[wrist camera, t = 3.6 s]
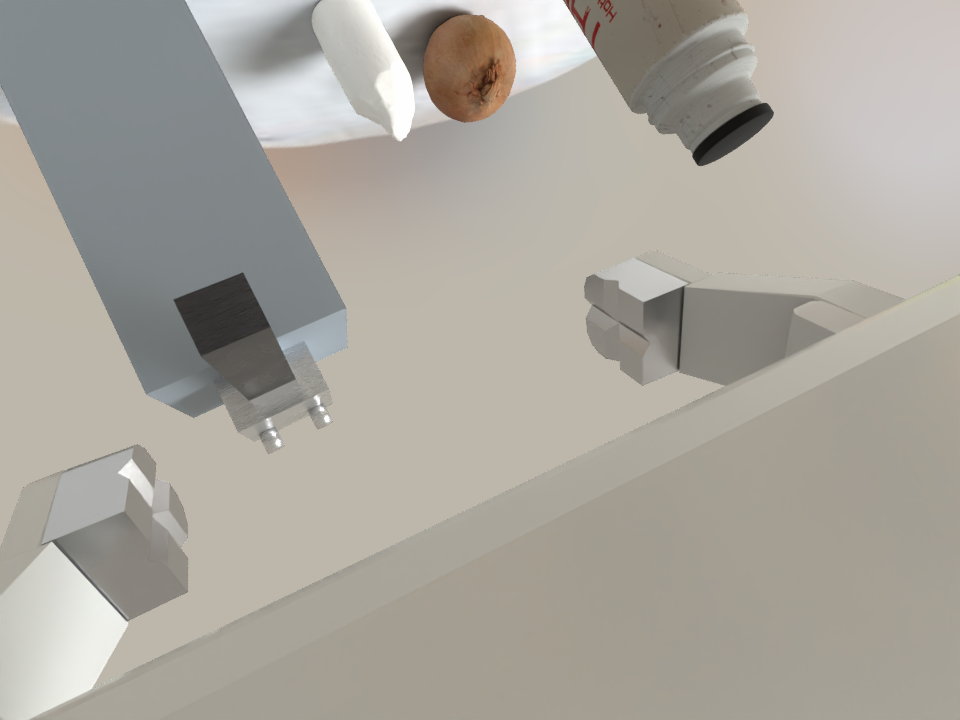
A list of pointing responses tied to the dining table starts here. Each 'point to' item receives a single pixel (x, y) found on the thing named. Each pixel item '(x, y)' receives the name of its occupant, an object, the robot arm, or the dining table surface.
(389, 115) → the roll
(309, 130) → the dining table surface
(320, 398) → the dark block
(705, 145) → the thermos bottle
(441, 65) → the onion
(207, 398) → the stand
